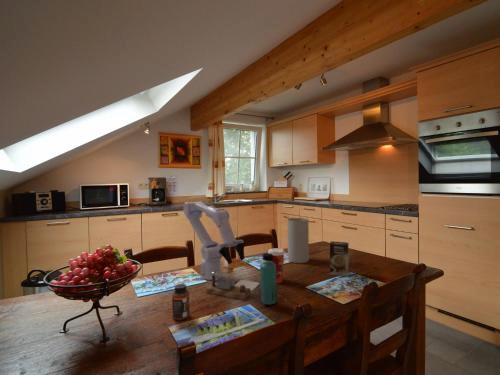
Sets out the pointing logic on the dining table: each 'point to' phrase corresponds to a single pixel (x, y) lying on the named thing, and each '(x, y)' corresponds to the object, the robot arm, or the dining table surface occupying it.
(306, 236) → the cylinder vase
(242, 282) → the rubber pad
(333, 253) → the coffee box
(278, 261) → the coffee cup
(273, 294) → the beverage bottle
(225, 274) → the latch bar
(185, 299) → the supplement bottle
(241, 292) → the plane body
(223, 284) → the lever cap
